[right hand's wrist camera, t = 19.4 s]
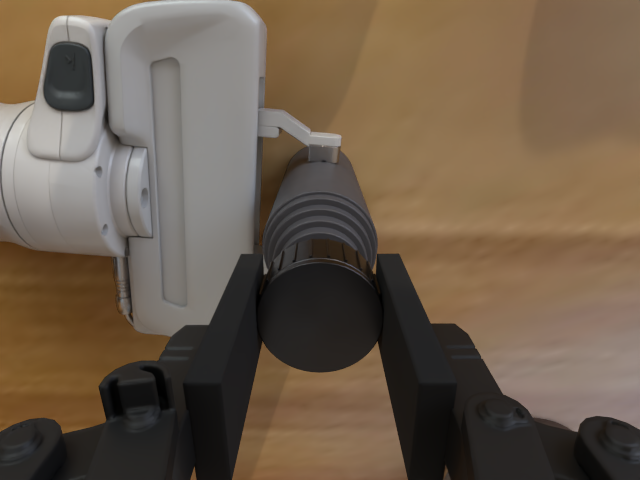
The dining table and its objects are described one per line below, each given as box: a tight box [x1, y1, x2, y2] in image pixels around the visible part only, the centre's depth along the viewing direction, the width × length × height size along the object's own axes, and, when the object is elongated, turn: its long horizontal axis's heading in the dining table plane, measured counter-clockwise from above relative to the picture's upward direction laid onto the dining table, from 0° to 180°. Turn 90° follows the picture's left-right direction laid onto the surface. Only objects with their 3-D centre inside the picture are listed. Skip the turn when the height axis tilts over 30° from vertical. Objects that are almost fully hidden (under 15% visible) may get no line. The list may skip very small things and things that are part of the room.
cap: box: [256, 238, 384, 372], centre depth 14 cm, size 4×4×2 cm
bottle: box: [262, 147, 378, 269], centre depth 22 cm, size 5×5×19 cm
